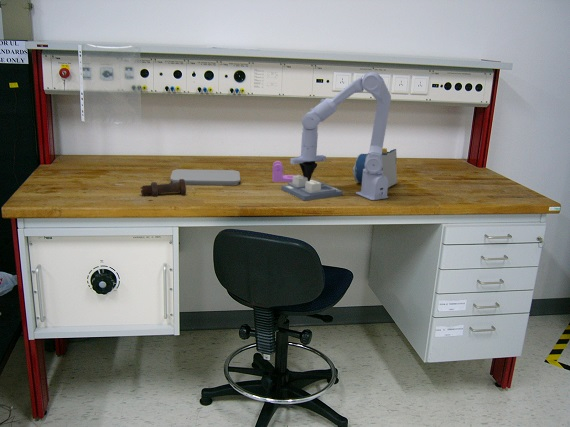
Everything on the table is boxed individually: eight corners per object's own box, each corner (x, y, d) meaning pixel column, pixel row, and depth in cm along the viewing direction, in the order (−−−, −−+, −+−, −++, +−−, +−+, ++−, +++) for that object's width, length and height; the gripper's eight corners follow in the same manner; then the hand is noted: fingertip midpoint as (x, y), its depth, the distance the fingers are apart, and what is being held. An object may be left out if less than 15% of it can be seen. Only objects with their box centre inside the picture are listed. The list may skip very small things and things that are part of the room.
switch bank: (342, 195, 207) (343, 188, 206) (304, 200, 198) (304, 194, 197) (318, 184, 219) (318, 178, 218) (281, 189, 210) (281, 183, 209)
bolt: (141, 200, 196) (185, 196, 201) (142, 196, 191) (186, 193, 196) (139, 183, 197) (183, 180, 202) (140, 180, 192) (184, 177, 197)
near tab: (320, 191, 203) (321, 181, 201) (311, 193, 201) (312, 182, 199) (314, 189, 206) (314, 178, 205) (305, 190, 204) (305, 180, 203)
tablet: (240, 187, 212) (240, 181, 211) (169, 186, 209) (169, 180, 208) (238, 175, 227) (239, 170, 227) (172, 174, 224) (172, 169, 223)
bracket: (272, 181, 221) (273, 164, 218) (272, 178, 226) (273, 160, 224) (306, 182, 221) (307, 165, 219) (304, 179, 227) (305, 162, 224)
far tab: (307, 186, 209) (307, 176, 208) (298, 187, 207) (298, 177, 206) (301, 183, 212) (301, 173, 211) (292, 184, 210) (292, 174, 209)
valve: (398, 183, 225) (397, 145, 221) (381, 191, 213) (380, 151, 209) (367, 182, 232) (366, 145, 229) (350, 189, 220) (349, 151, 217)
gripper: (318, 142, 213) (316, 176, 218) (286, 144, 206) (284, 180, 210) (330, 145, 208) (327, 181, 212) (297, 148, 200) (295, 185, 204)
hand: (306, 181), depth 211 cm, fingers closed
